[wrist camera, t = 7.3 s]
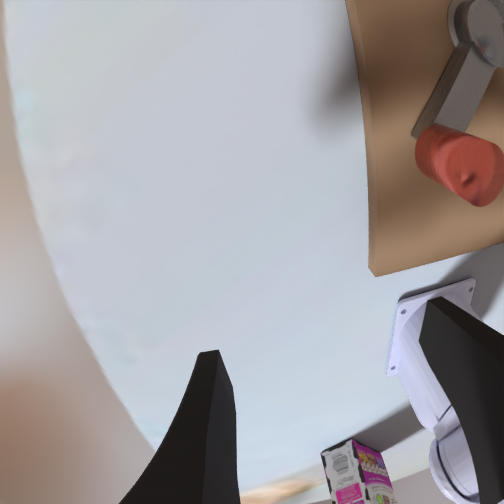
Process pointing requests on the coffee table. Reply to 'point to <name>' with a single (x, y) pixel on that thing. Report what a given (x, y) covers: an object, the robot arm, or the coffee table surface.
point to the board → (403, 144)
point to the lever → (464, 109)
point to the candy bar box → (357, 475)
